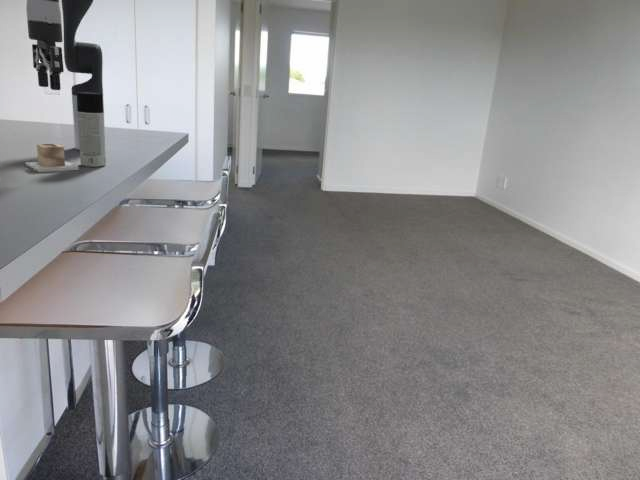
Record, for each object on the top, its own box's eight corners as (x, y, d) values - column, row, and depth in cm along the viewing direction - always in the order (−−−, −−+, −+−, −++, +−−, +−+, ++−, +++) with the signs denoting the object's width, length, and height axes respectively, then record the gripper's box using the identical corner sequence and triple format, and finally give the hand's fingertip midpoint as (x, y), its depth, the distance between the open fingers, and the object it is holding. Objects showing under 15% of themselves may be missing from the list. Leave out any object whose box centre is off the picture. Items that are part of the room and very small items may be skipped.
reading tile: (25, 165, 135) (25, 161, 135) (64, 163, 142) (64, 160, 142) (38, 172, 129) (38, 168, 129) (78, 169, 136) (78, 166, 136)
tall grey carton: (111, 165, 145) (108, 93, 139) (94, 168, 139) (90, 93, 133) (92, 162, 147) (89, 91, 141) (74, 165, 141) (70, 91, 135)
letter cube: (58, 162, 139) (56, 143, 137) (65, 165, 135) (63, 146, 134) (38, 163, 135) (36, 143, 134) (45, 166, 132) (43, 146, 130)
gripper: (18, 18, 127) (24, 85, 132) (38, 18, 118) (43, 90, 123) (50, 22, 132) (54, 86, 137) (71, 23, 123) (75, 91, 128)
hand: (49, 88), depth 130 cm, fingers open, 8 cm apart
